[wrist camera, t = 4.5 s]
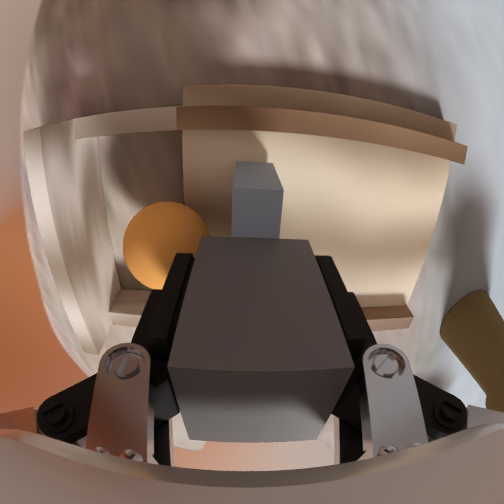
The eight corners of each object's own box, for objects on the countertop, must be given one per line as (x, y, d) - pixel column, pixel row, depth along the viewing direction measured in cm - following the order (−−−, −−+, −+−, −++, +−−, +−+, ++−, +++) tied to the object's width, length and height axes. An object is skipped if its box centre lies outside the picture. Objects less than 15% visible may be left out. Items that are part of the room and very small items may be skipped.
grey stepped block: (213, 161, 12) (151, 296, 4) (295, 164, 12) (382, 300, 4) (215, 290, 16) (196, 457, 8) (280, 292, 16) (304, 457, 8)
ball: (230, 201, 12) (168, 184, 14) (155, 234, 9) (100, 208, 11) (229, 279, 14) (173, 253, 16) (168, 323, 11) (115, 285, 13)
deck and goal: (81, 99, 12) (21, 108, 7) (444, 121, 12) (503, 139, 8) (114, 310, 19) (89, 363, 14) (391, 316, 19) (417, 366, 15)
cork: (472, 281, 18) (545, 380, 9) (497, 300, 20) (555, 381, 10) (428, 335, 21) (480, 438, 11) (458, 345, 22) (504, 430, 13)
